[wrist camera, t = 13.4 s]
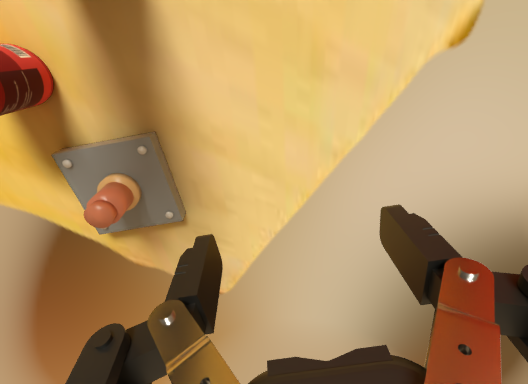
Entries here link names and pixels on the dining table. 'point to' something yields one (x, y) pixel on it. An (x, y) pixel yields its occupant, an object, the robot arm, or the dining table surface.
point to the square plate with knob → (125, 178)
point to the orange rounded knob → (108, 205)
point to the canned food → (22, 79)
